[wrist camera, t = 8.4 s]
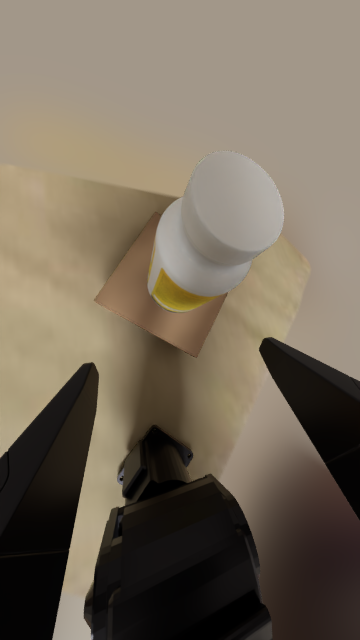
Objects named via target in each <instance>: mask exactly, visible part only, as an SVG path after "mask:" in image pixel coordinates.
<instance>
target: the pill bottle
mask: <svg viewBox="0 0 360 640" xmlns="http://www.w3.org/2000/svg"><path fill="white" fill-rule="evenodd" d="M283 222H284V209H283V203H282V200H281V196H280V194H279V191H278V189H277V187H276V186H275V184H274V182H273V180H272V179H271V178H270V176H269V175H268V174H267V172H266V171H265V170H263V168H262V167H260V166H259V165H258V164H257V163H256V162H254V161H253V160H251V159H250V158H248V157H246V156H245V155H242V154H240V153H237V152H232V151H217V152H213V153H211V154H208V155H207V156H205V157H204V158H202V159H201V160H200V161H199V163H198V164H197V165H196V167H195V169H194V170H193V173H192V175H191V178H190V180H189V183H188V186H187V188H186V190H185V193H184V196H183V197H181V198H179V199H177V200H176V201H174V202H173V203H172V204H171V205H170V206H169V207H168V208H167V209H166V210H165V212H164V213H163V215H162V217H161V219H160V221H159V224H158V227H157V230H156V235H155V240H154V245H153V251H152V256H151V261H150V267H149V271H148V277H147V286H148V290H149V293H150V295H151V297H152V299H153V300H154V301H155V303H156V304H157V305H158V306H160V307H161V308H162V309H164V310H166V311H169V312H172V313H185V312H188V311H191V310H193V309H195V308H197V307H199V306H201V305H203V304H205V303H207V302H209V301H211V300H213V299H215V298H217V297H219V296H221V295H223V294H225V293H227V292H229V291H230V290H232V289H234V288H235V287H236V286H237V285H239V284H240V283H241V282H242V280H243V279H244V278H245V277H246V275H247V273H248V271H249V269H250V266H251V263H252V259H254V258H255V257H257V256H258V255H259V254H261V253H262V252H263V251H265V250H266V249H268V248H269V247H270V246H271V245H272V244H273V243H274V242H275V241H276V240H277V238H278V237H279V235H280V233H281V231H282V227H283Z"/></svg>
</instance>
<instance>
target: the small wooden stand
mask: <svg viewBox="0 0 360 640" xmlns="http://www.w3.org/2000/svg"><path fill="white" fill-rule="evenodd" d="M161 217H162V216H161V215H160V214H158V213H157V212H155V213H154V215H153V216H152V217H151V219H150V220H149V222H148V223H147V225H146V226H145V227H144V229H143V230H142V232H141V233H140V235H139V236H138V237H137V239H136V240H135V242H134V243H133V245H132V246H131V247H130V249H129V250H128V252H127V253H126V255H125V256H124V258H123V259H122V260H121V262H120V263H119V265H118V266H117V268H116V269H115V270H114V272H113V273H112V275H111V276H110V278H109V279H108V280H107V282H106V283H105V285H104V286H103V288H102V289H101V291H100V292H99V293H98V295H97V296H96V298H95V299H94V301H95V302H96V303H98V304H100V305H101V306H103V307H105V308H107V309H109V310H110V311H112V312H114V313H116V314H118V315H119V316H121V317H123V318H125V319H127V320H128V321H130V322H132V323H134V324H136V325H137V326H139V327H141V328H143V329H145V330H146V331H148V332H150V333H152V334H154V335H155V336H157V337H159V338H161V339H163V340H164V341H166V342H168V343H170V344H172V345H173V346H175V347H177V348H179V349H181V350H182V351H184V352H186V353H188V354H190V355H191V356H193V357H197V356H198V354H199V352H200V350H201V348H202V346H203V344H204V342H205V339H206V337H207V335H208V333H209V331H210V329H211V327H212V325H213V323H214V321H215V319H216V317H217V315H218V313H219V310H220V308H221V306H222V304H223V302H224V300H225V298H226V296H227V294H228V292H227V293H225V294H223V295H221V296H219V297H217V298H215V299H213V300H211V301H209V302H207V303H205V304H203V305H201V306H199V307H197V308H195V309H193V310H191V311H188V312H185V313H172V312H169V311H166V310H164V309H162V308H161V307H160V306H158V305H157V304H156V303H155V301H154V300H153V299H152V297H151V295H150V293H149V290H148V286H147V277H148V271H149V267H150V261H151V256H152V251H153V245H154V240H155V235H156V230H157V227H158V224H159V221H160V219H161Z"/></svg>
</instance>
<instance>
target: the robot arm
mask: <svg viewBox="0 0 360 640" xmlns="http://www.w3.org/2000/svg"><path fill="white" fill-rule="evenodd" d="M259 351H260V354H261V356H262V358H263V360H264V362H265V364H266V366H267V368H268V370H269V372H270V374H271V376H272V378H273V379H274V381H275V383H276V384H277V386H278V388H279V389H280V391H281V393H282V394H283V396H284V397H285V399H286V401H287V402H288V404H289V406H290V407H291V408H292V411H293V412H294V414H295V415H296V417H297V419H298V420H299V422H300V424H301V425H302V427H303V429H304V430H305V432H306V433H307V435H308V437H309V438H310V440H311V442H312V443H313V445H314V446H315V448H316V450H317V451H318V453H319V454H320V456H321V458H322V460H323V461H324V463H325V465H326V466H327V468H328V469H329V471H330V473H331V475H332V476H333V478H334V479H335V481H336V483H337V484H338V486H339V488H340V489H341V491H342V493H343V494H344V496H345V497H346V499H347V501H348V502H349V504H350V506H351V507H352V509H353V511H354V512H355V514H356V515H357V517H358V519H359V520H360V381H358V380H356V379H354V378H352V377H349V376H348V375H346V374H344V373H342V372H340V371H338V370H336V369H334V368H332V367H330V366H328V365H326V364H324V363H322V362H320V361H318V360H316V359H314V358H312V357H310V356H308V355H306V354H304V353H302V352H300V351H298V350H296V349H294V348H292V347H290V346H288V345H286V344H284V343H282V342H280V341H278V340H276V339H274V338H272V337H268V338H264V339H263V341H262V343H261V345H260V347H259ZM98 383H99V373H98V371H97V369H96V366H95V364H94V363H93V362H91V363H85V364H83V365H82V366H81V367H80V368H79V369H78V370H77V372H76V373H75V374H74V375H73V376H72V377H71V378H70V379H69V381H68V382H67V383H66V384H65V385H64V386H63V387H62V389H61V390H60V391H59V392H58V393H57V394H56V395H55V397H54V398H53V399H52V400H51V401H50V402H49V403H48V405H47V406H46V407H45V408H44V409H43V410H42V411H41V412H40V414H39V415H38V416H37V417H36V418H35V419H34V420H33V422H32V423H31V424H30V425H29V426H28V427H27V428H26V430H25V431H24V432H23V433H22V434H21V435H20V436H19V437H18V439H17V440H16V441H15V442H14V443H13V444H12V445H11V447H10V448H9V449H8V451H7V452H5V453H4V454H3V456H2V457H1V458H0V640H52V638H53V633H54V628H55V622H56V617H57V612H58V607H59V601H60V597H61V591H62V586H63V581H64V576H65V571H66V565H67V560H68V555H69V548H70V544H71V539H72V534H73V529H74V523H75V518H76V513H77V508H78V503H79V498H80V492H81V487H82V482H83V477H84V472H85V467H86V461H87V456H88V451H89V446H90V441H91V436H92V430H93V425H94V420H95V415H96V408H97V396H98ZM154 429H156V431H155V432H153V430H154ZM188 454H190V455H189V456H188ZM192 458H193V453H192V451H191V450H190V449H189V448H187V447H186V446H184V445H183V444H182V443H180V442H179V441H177V440H176V439H175V438H173V437H172V436H170V435H169V434H168V433H166V432H165V431H163V430H162V429H161V428H159V427H158V426H156V425H153V426H152V427H151V428H150V429H149V431H148V432H147V433H146V435H145V436H144V438H143V439H142V440H140V441H139V442H138V443H137V444H136V446H135V447H134V449H133V450H132V451H131V453H130V454H129V456H128V457H127V459H126V460H125V463H124V466H123V468H122V469H121V471H120V472H119V474H118V477H117V481H118V483H119V484H121V485H123V490H122V495H123V497H124V498H125V506H123V507H121V508H119V506H118V507H116V508H113V509H111V513H110V517H109V520H108V521H107V524H106V527H105V531H104V535H103V539H102V543H101V547H100V551H99V555H98V558H97V562H96V566H95V573H94V580H93V582H92V585H91V587H90V589H89V591H88V593H87V595H86V599H85V605H84V619H85V621H86V622H87V624H88V625H89V627H90V629H91V640H272V621H271V617H270V614H269V612H268V609H267V607H266V606H265V605H264V604H263V603H262V596H261V590H260V585H259V579H258V578H259V576H260V564H259V558H258V554H257V550H256V546H255V543H254V539H253V536H252V533H251V531H250V528H249V525H248V523H247V520H246V518H245V516H244V513H243V511H242V509H241V508H240V506H239V504H238V502H237V501H236V499H235V498H234V496H233V495H232V494H231V493H230V492H229V491H228V490H227V489H226V488H225V487H224V486H223V485H222V484H221V483H220V482H219V481H218V480H217V479H216V478H215V477H214V476H213V475H212V474H211V473H210V474H207V475H205V477H203V478H200V479H197V480H195V481H191V478H190V476H189V473H188V471H187V466H188V465H189V463H190V461H191V460H192ZM121 476H123V478H120V477H121Z"/></svg>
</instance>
